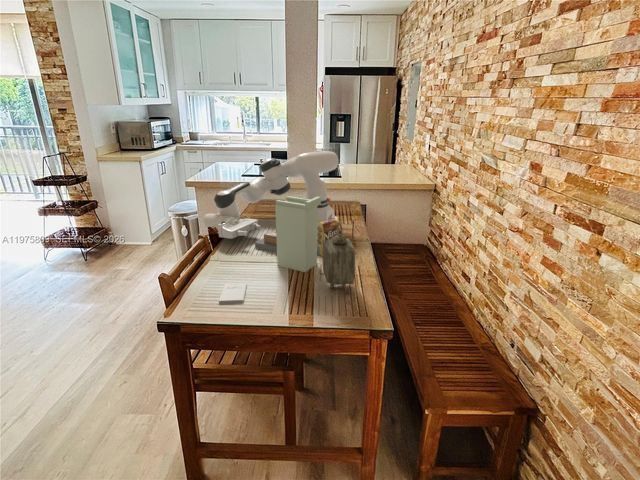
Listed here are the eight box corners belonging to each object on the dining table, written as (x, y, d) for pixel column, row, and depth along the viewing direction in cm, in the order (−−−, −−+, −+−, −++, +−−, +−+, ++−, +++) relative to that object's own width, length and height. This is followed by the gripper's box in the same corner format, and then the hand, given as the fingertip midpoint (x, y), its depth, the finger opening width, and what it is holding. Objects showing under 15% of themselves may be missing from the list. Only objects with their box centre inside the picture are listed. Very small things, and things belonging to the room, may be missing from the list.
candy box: (321, 256, 163) (322, 223, 157) (316, 253, 166) (316, 221, 161) (338, 252, 168) (339, 220, 162) (332, 249, 171) (333, 217, 165)
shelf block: (289, 257, 162) (288, 192, 151) (320, 264, 155) (320, 196, 145) (277, 265, 154) (275, 197, 144) (308, 273, 148) (308, 202, 137)
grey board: (266, 241, 179) (266, 236, 179) (317, 252, 167) (317, 247, 166) (255, 247, 172) (254, 242, 171) (307, 259, 160) (307, 254, 159)
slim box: (269, 239, 174) (268, 231, 173) (309, 248, 165) (309, 240, 163) (264, 242, 171) (263, 234, 170) (305, 251, 161) (305, 243, 160)
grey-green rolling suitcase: (353, 296, 131) (356, 229, 122) (328, 298, 129) (329, 230, 120) (345, 277, 144) (347, 216, 135) (322, 279, 143) (322, 217, 134)
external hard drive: (219, 304, 126) (224, 287, 137) (243, 304, 126) (247, 286, 138) (218, 300, 125) (224, 283, 137) (243, 299, 126) (247, 282, 137)
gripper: (245, 225, 190) (267, 230, 184) (216, 238, 174) (240, 243, 167) (244, 214, 188) (266, 218, 182) (215, 225, 171) (239, 230, 165)
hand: (253, 230), depth 175 cm, fingers open, 8 cm apart
